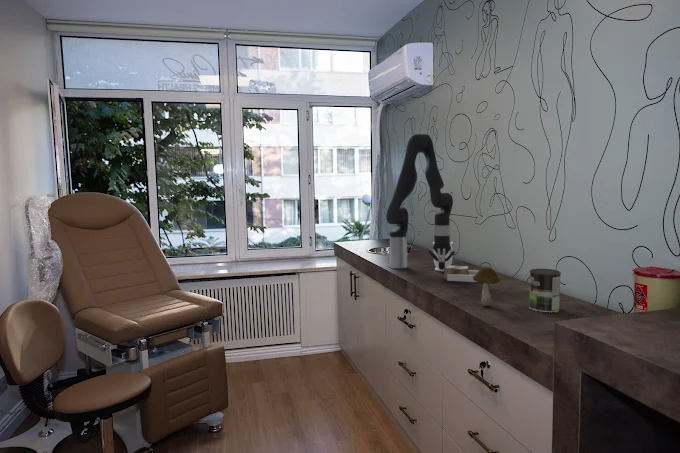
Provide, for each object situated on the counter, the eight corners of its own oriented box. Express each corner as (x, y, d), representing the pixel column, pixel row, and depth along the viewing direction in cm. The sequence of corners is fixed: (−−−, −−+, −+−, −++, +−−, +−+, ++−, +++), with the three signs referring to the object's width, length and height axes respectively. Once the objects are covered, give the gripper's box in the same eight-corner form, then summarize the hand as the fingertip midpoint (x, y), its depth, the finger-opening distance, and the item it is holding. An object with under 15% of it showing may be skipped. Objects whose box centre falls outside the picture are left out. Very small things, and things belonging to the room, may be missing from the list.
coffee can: (538, 313, 162) (538, 274, 161) (524, 305, 172) (524, 269, 171) (565, 312, 163) (566, 273, 161) (550, 304, 173) (551, 268, 172)
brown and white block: (443, 279, 221) (443, 267, 220) (445, 276, 228) (445, 265, 227) (467, 280, 217) (467, 269, 217) (468, 277, 224) (468, 266, 223)
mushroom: (488, 300, 180) (488, 263, 178) (505, 308, 169) (505, 269, 167) (467, 302, 178) (467, 265, 176) (482, 311, 167) (483, 270, 165)
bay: (447, 280, 216) (447, 274, 216) (449, 275, 228) (449, 269, 228) (480, 282, 211) (480, 275, 211) (481, 276, 223) (481, 270, 223)
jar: (453, 272, 235) (453, 243, 233) (432, 271, 237) (432, 243, 235) (452, 268, 245) (452, 240, 244) (432, 267, 247) (432, 240, 246)
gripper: (427, 234, 219) (427, 270, 221) (455, 235, 215) (454, 271, 217) (429, 233, 226) (429, 267, 228) (456, 233, 222) (456, 268, 224)
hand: (441, 269), depth 222 cm, fingers closed
